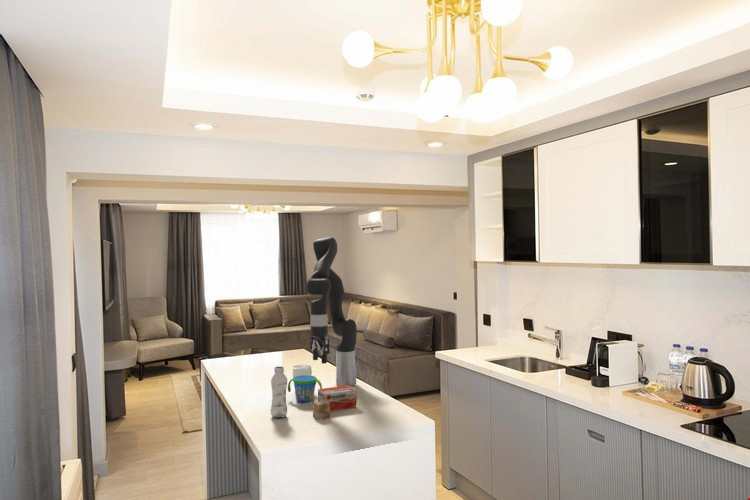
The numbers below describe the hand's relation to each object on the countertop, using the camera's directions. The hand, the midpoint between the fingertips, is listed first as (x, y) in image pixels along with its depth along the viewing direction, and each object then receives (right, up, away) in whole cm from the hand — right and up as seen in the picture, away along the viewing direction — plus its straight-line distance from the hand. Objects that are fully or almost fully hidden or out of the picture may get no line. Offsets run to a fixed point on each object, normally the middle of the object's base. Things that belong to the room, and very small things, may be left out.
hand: (319, 361), depth 223 cm
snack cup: (-7, -19, +7) cm, 22 cm away
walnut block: (+2, -19, -16) cm, 25 cm away
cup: (-11, -19, +21) cm, 30 cm away
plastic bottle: (-15, -19, -16) cm, 29 cm away
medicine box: (+8, -19, -3) cm, 21 cm away
